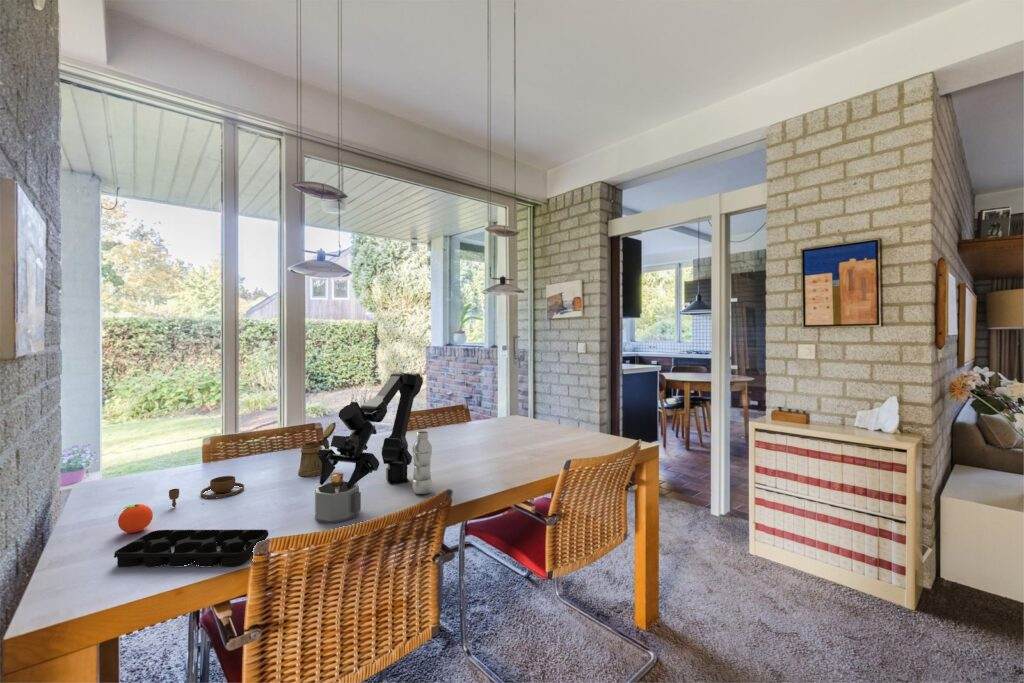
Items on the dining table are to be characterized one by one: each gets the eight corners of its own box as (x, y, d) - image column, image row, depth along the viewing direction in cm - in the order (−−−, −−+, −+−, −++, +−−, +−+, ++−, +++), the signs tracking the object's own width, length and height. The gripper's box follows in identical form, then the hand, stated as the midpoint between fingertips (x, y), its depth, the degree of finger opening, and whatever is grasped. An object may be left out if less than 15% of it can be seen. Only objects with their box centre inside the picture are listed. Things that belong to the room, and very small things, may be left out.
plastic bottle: (415, 498, 140) (415, 435, 140) (409, 491, 146) (410, 431, 146) (434, 494, 143) (435, 433, 143) (428, 488, 149) (429, 429, 149)
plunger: (334, 503, 131) (334, 468, 131) (358, 506, 129) (358, 471, 129) (314, 514, 123) (314, 477, 123) (339, 518, 121) (339, 480, 121)
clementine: (107, 540, 109) (107, 511, 109) (119, 529, 116) (119, 502, 116) (147, 534, 113) (147, 507, 113) (156, 524, 119) (156, 498, 119)
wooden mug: (340, 470, 167) (340, 423, 167) (302, 478, 158) (303, 428, 158) (331, 465, 174) (331, 420, 174) (294, 472, 164) (294, 424, 164)
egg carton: (142, 545, 108) (142, 530, 108) (276, 533, 115) (276, 519, 115) (93, 584, 91) (93, 566, 91) (253, 568, 98) (253, 551, 98)
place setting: (247, 498, 140) (247, 479, 140) (167, 513, 128) (167, 492, 128) (241, 483, 154) (241, 466, 154) (168, 495, 142) (168, 477, 142)
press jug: (333, 505, 133) (333, 478, 133) (370, 510, 130) (370, 483, 130) (305, 520, 122) (305, 491, 122) (344, 526, 119) (345, 497, 118)
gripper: (320, 421, 133) (292, 468, 122) (374, 425, 127) (349, 475, 117) (337, 441, 140) (312, 487, 130) (389, 446, 135) (366, 494, 124)
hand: (334, 486), depth 125 cm, fingers open, 9 cm apart
